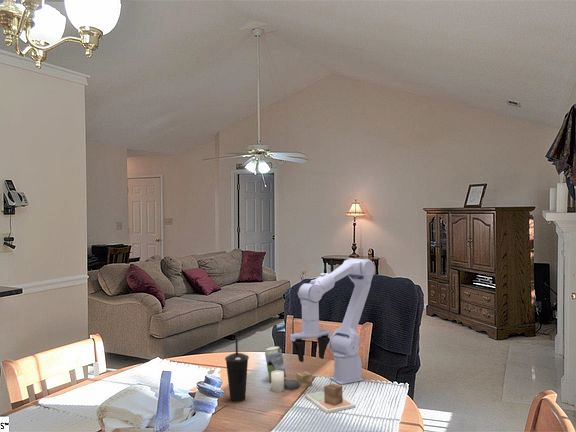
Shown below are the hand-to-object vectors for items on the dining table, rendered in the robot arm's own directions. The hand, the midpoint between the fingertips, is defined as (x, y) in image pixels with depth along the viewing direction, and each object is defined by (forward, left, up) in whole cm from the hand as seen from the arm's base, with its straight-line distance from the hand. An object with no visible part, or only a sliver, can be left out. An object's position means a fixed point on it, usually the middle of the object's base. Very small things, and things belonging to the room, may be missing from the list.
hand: (311, 359), depth 171 cm
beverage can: (+7, -15, -11) cm, 20 cm away
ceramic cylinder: (+10, -6, -10) cm, 16 cm away
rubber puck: (+5, -6, -11) cm, 13 cm away
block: (0, +15, -9) cm, 18 cm away
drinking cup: (+25, -4, -11) cm, 27 cm away
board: (0, +12, -10) cm, 16 cm away
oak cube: (0, -6, -10) cm, 12 cm away
